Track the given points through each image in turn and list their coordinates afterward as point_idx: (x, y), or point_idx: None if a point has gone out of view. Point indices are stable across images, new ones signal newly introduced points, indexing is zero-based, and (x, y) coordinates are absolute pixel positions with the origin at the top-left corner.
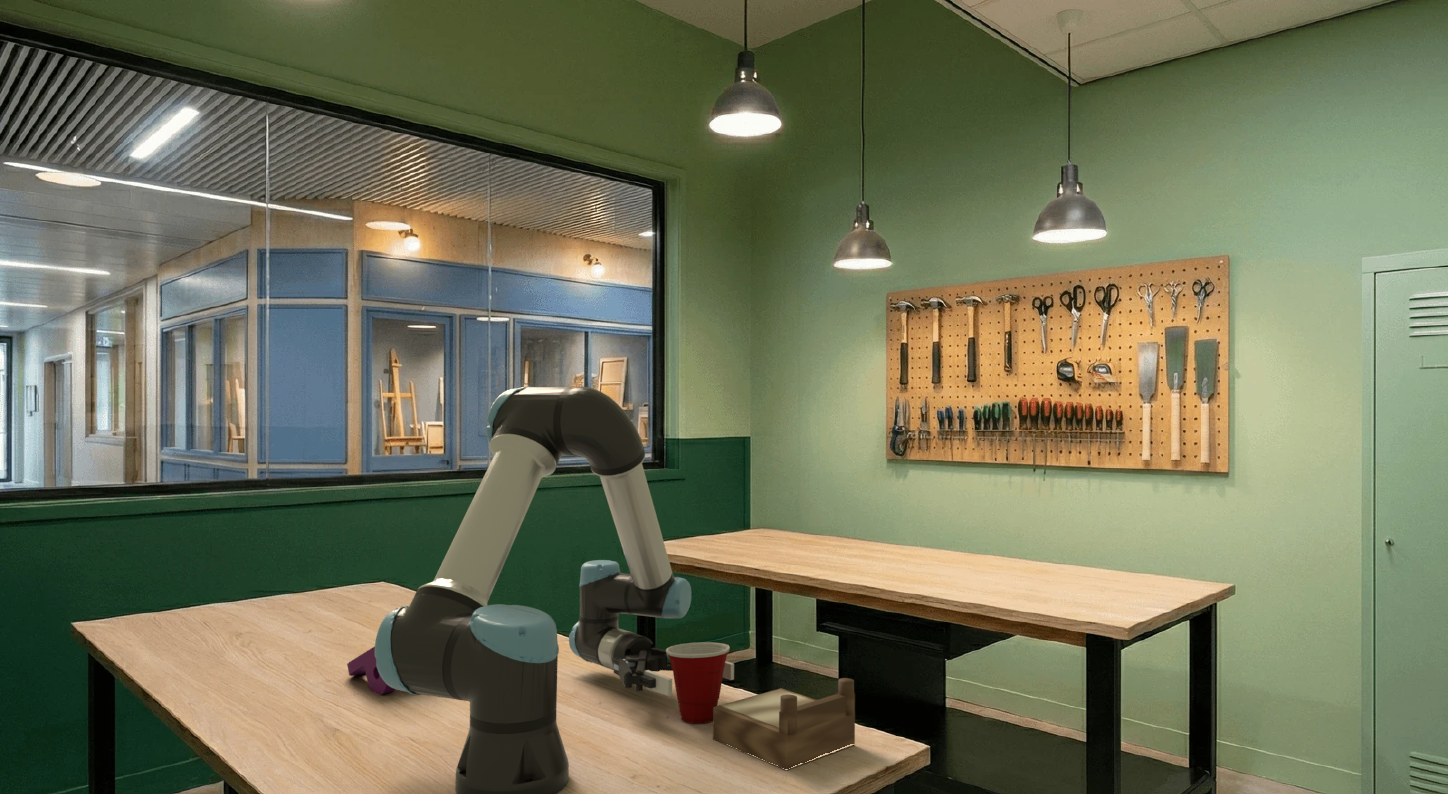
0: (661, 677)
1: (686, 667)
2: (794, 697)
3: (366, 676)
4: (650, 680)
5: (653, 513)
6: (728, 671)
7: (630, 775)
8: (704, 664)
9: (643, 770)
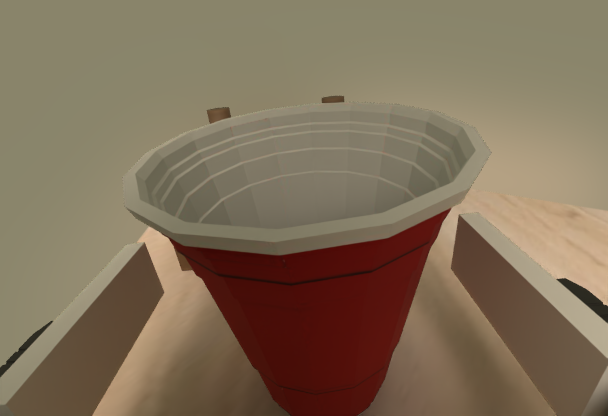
0: (506, 240)
1: (403, 166)
2: (327, 97)
3: None
4: (569, 284)
5: None
6: (148, 276)
7: (580, 217)
8: (349, 141)
9: (552, 221)
